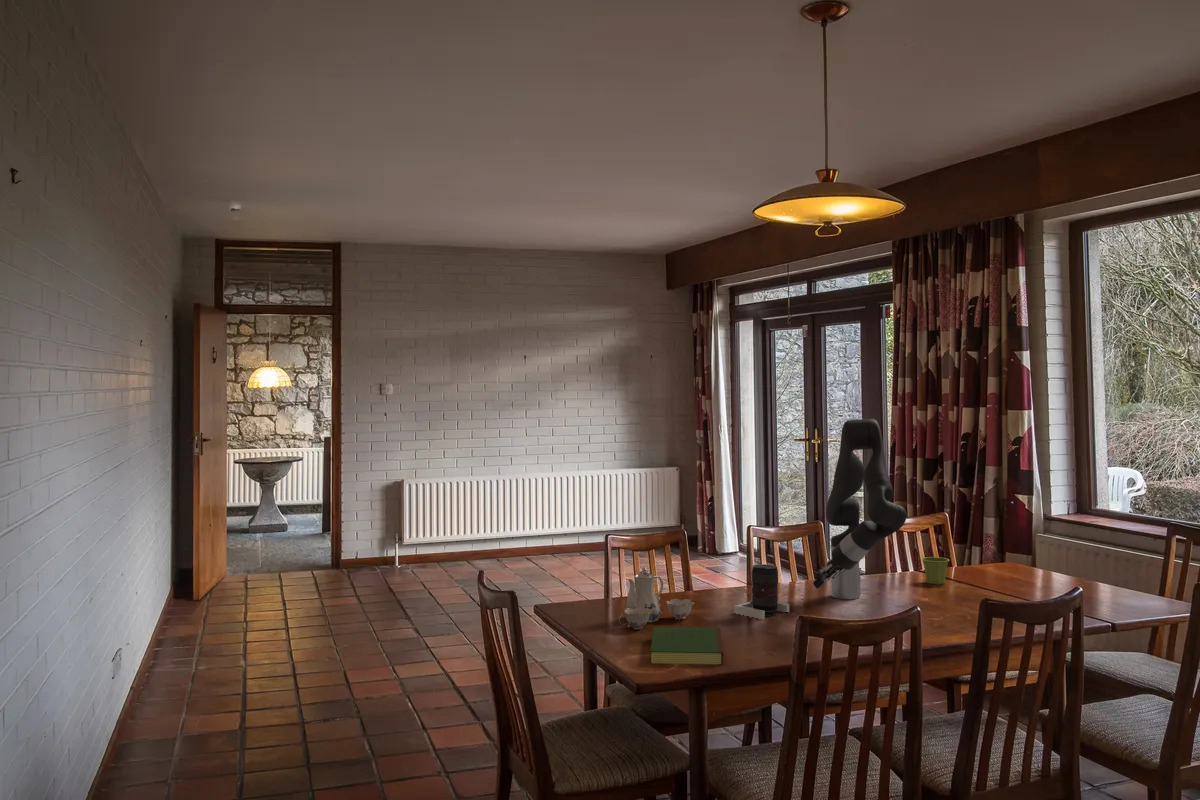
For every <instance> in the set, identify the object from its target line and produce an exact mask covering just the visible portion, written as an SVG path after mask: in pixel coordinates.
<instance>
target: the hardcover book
mask: <svg viewBox="0 0 1200 800" xmlns="http://www.w3.org/2000/svg"><path fill="white" fill-rule="evenodd" d="M722 639H723V638H722V630H721V627H671V626H669V627H667V626H663V627H662V626H661V627H660V626H654V627H653V632H652V639H651V644H650V650H649V652H650V655H651V658H650V659H651V664H670V665H671V664H672V665H673V664H674V665H719V664H723V665H724V646H723V640H722Z"/></svg>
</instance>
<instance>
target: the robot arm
mask: <svg viewBox="0 0 1200 800" xmlns="http://www.w3.org/2000/svg"><path fill="white" fill-rule="evenodd" d="M841 428H842V429H841V435H840V446H839V453H838V459H837V463H836V465H835V471H834V475H833V480H832V487H831V491H830V494H829V497H828V500H827V503H826V507H825V519H826V522H827V523H828V524H829V525H831V526H835V527H847V529H846V530H844V531H843V532H841V533H839V534H838V533H837V534H835V535H834V536H832V537H831V538H830V557H831V558H830V559H829V560H828V561H827V562H826V564H825V565H824V566H823V565H822V566H819V567H818V569H817V572H816V576H817V578H816V579H814V581H813V583H812V584H813V586H814V587H815V588H816V589H821V587H823V586H824V585H825V584H826V583H827V582H829V581H830V582H831V583H830V589H831V591H830V592H831V597H832V598H834V599H835V598H836V599H839V600H856V599H857V600H858V599H859V598H860V596H861V593H862V592H861V589H862V588H861V585H862V584H861V567H860V562H861V560H863V558H864V557H866V556H867V554H868V553H869V552H870V550H872V548H873V547H874V546H875V545H876V544H877V543H879V541H881V540H883V539H886V538H887V537H889V536H891V535H893V534H895V533H896V532H898V531H899V530H901V528H902V527H903V526H904V524H905V523H906V521H907V516H908V515H907V514H908V513H907V511H906V509H905V508H904V507H903V506H901V505H899V504H897V503H894V502H891V501H890V500H892V498H893V496H894V489H893V486H892V483H891V478H890V476H889V473H888V467H887V463H886V456H885V448H884V441H883V436H882V431H881V427H880V425H879V423H878V421H877V420H876V419H874V418H861V419H850V420H846V421H845V422H844V423H843V425H842V427H841ZM858 450H859V451H860V450H861V451H862V450H872V455H871V458H870V460H869V461H868V462H867V464H866V467H865V465H864V463H863V461H862V460H861V458H859V457H858V456H857V454H855V453H854V451H858ZM863 484H864V485H865V488H866V493H867V505H866V506H867V507H866V509H867V511H866V512H867V516H868V518H869V519H870V520H863V521H861V520H860V519H861V518H860V517H861V508H860V507H861V506H860V502H859V501H858V499H856V498H850V497H852V496H854V495H855V494H856V493H857V492H859V491H860V489H861V488H862V486H863ZM860 521H861V522H860Z"/></svg>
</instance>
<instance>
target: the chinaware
mask: <svg viewBox="0 0 1200 800" xmlns="http://www.w3.org/2000/svg"><path fill="white" fill-rule="evenodd" d="M633 577H634V580H635V581H634V580H633V579H632V578H628V581H629V588H628V589H629V590H628V594H627V598H626V608H625V609H624V611H622V613H623V614H621V615H620V616H619V617H618V621H619V624H620V625H622V626H625V625H627V627H628V628H631V627H633V628H634V629H633V628H632V629H633V630H639V629H640V630H642V629H641V628H643V627H644V626H646V625H647V624H648V623H647V622H649V623H655V622H658V621H659V620H660V619H659V617H660V616H661V615H662V614H663V611H664V609H663V607H662V605H661V603H660V602H659V601H660V600H661V597H660V596H661V594H662V592H663V590H664V582H663V581H664V580H663V579H662V578H661V577H660V576H658V575H654V574H651V572H650V571H647V568H646V567H645V566H643V568H642V569H641V571H640V572H639V573H638V574H635V575H634V576H633ZM656 579H658V580H659V583H660V587H659V592H658V593H657V594H656V592H655V587H654V584H655V583H656ZM665 604H666V605H667V608H668V611H669V613H670V614H671V615H672V616H674V617H675V618H674V620H677V619H679V620H678V621H681V620H680V619H684V618H686V617H687V616H688V615H689V614H690V613H691V612H692V611H691V610H692V608H693V607H692V606H693V605H694V604H695V601H692V600H691V599H689V598H688V599H687V598H685V599H679V598H672V599H671V600H670V601H669V600H665ZM622 617H623V618H625V619H626V623H622V622H621V618H622Z"/></svg>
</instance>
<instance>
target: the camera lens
mask: <svg viewBox="0 0 1200 800" xmlns="http://www.w3.org/2000/svg"><path fill="white" fill-rule="evenodd" d="M751 583H752V587H751V593H752V596H751V597H752V599H751V601H752V603H753V608H754V609H759V610H763V611H765V617H771V616H775V615H776V614H777V611H776V609H777V604H778V602H779V600H778V599H779V597H778V595H779V594H778V592H779V591H778V588H779V587H778V584H779V569H778V566H776V565H773V564H761V563H759V564H754V565H752V569H751Z"/></svg>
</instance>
